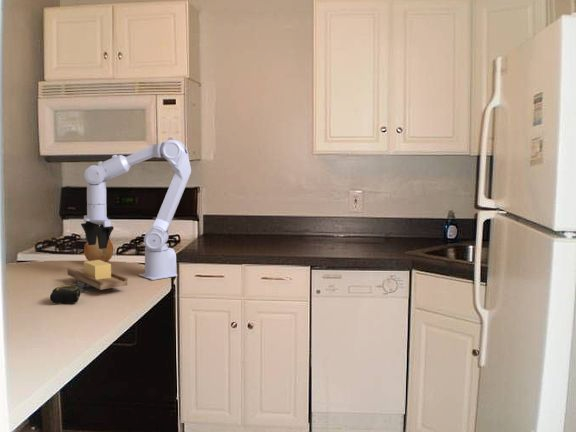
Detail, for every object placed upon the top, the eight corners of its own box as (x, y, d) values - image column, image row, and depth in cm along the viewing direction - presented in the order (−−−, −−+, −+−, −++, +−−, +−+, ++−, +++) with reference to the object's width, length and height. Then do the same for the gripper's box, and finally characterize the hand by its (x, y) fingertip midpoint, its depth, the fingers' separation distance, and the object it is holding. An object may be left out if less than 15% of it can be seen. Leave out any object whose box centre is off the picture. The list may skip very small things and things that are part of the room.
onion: (96, 268, 179) (95, 239, 178) (78, 264, 185) (77, 235, 184) (119, 263, 187) (119, 235, 186) (101, 259, 193) (101, 232, 192)
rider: (99, 272, 160) (99, 259, 160) (111, 277, 155) (110, 264, 154) (83, 275, 157) (83, 261, 156) (95, 279, 151) (95, 266, 151)
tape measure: (49, 306, 137) (48, 292, 136) (56, 298, 144) (55, 285, 143) (77, 305, 138) (76, 291, 138) (82, 298, 145) (82, 285, 144)
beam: (93, 272, 167) (92, 264, 167) (127, 287, 152) (127, 278, 151) (67, 276, 161) (67, 268, 161) (100, 291, 146) (100, 282, 146)
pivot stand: (109, 280, 164) (109, 274, 164) (122, 285, 158) (122, 279, 158) (70, 286, 155) (70, 280, 155) (82, 292, 150) (82, 285, 149)
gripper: (74, 202, 169) (75, 244, 170) (94, 206, 159) (95, 251, 160) (95, 201, 174) (96, 242, 175) (117, 205, 164) (117, 249, 165)
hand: (97, 246), depth 168 cm, fingers open, 7 cm apart
